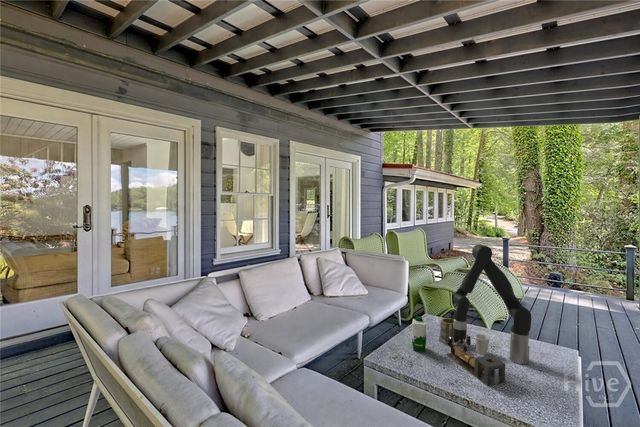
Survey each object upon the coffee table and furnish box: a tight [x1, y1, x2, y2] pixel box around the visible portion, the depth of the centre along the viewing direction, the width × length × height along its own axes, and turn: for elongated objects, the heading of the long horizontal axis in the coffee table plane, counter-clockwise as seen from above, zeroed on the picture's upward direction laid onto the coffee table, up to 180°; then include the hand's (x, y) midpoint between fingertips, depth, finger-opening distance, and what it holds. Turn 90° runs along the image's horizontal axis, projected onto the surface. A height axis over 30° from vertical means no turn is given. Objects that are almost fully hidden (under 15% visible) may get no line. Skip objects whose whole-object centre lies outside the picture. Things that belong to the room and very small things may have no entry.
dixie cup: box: [474, 333, 490, 356], centre depth 203 cm, size 8×8×10 cm
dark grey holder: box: [445, 352, 507, 387], centre depth 184 cm, size 34×12×10 cm, turn 15°
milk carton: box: [411, 315, 427, 353], centre depth 207 cm, size 9×9×20 cm
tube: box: [455, 345, 485, 372], centre depth 189 cm, size 22×5×5 cm, turn 15°
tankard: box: [438, 317, 456, 346], centre depth 215 cm, size 20×13×15 cm, turn 159°
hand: (458, 352), depth 196 cm, fingers open, 8 cm apart
